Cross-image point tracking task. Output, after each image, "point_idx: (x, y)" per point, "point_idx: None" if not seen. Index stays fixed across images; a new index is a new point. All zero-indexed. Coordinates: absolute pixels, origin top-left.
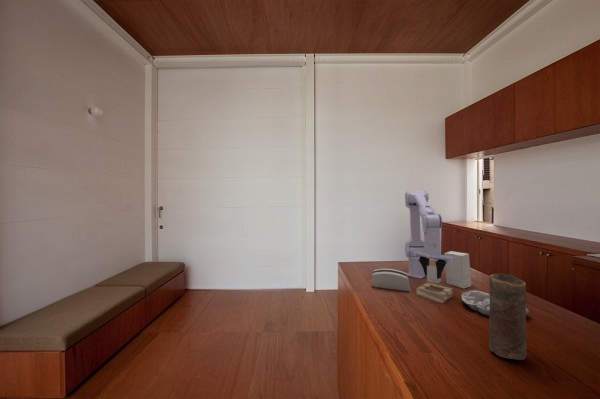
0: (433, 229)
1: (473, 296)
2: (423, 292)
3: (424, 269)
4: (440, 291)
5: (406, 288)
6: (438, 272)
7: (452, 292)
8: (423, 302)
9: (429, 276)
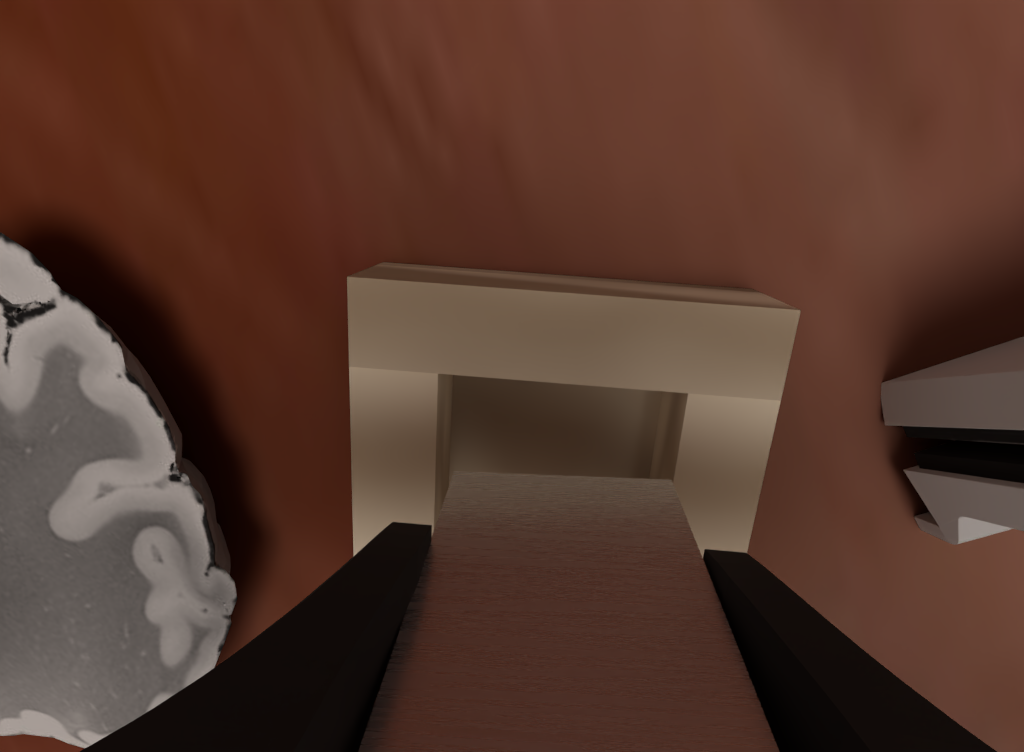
0: None
1: (86, 554)
2: (663, 293)
3: (851, 669)
4: None
5: (962, 365)
6: (305, 616)
7: None
8: (592, 91)
9: (633, 552)
